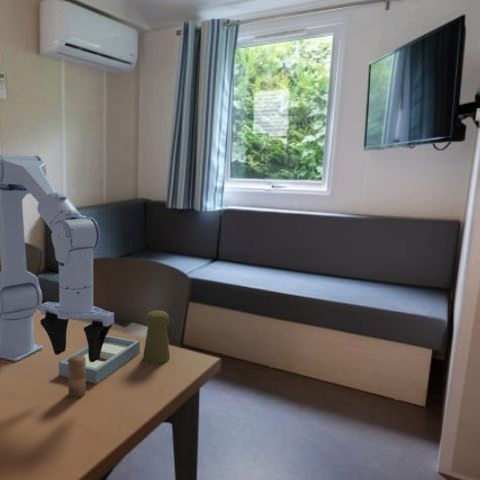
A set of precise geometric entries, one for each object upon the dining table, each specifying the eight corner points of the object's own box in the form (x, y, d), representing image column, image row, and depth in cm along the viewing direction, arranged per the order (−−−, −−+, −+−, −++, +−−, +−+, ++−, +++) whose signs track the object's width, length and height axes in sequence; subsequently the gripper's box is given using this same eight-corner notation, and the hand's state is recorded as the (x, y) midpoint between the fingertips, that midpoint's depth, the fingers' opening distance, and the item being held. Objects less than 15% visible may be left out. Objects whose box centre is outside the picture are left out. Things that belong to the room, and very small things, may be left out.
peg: (64, 396, 78) (64, 360, 76) (75, 388, 80) (75, 354, 79) (78, 399, 77) (78, 363, 76) (89, 391, 80) (88, 357, 78)
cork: (164, 365, 92) (165, 318, 90) (138, 362, 93) (139, 314, 91) (173, 354, 98) (175, 309, 96) (149, 351, 99) (150, 306, 97)
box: (59, 375, 85) (58, 362, 85) (106, 345, 100) (106, 334, 100) (96, 383, 82) (96, 370, 82) (139, 352, 98) (139, 341, 97)
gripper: (26, 285, 74) (28, 357, 76) (96, 296, 69) (96, 372, 71) (55, 276, 80) (56, 343, 82) (121, 286, 76) (120, 356, 78)
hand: (77, 356), depth 77 cm, fingers open, 7 cm apart
